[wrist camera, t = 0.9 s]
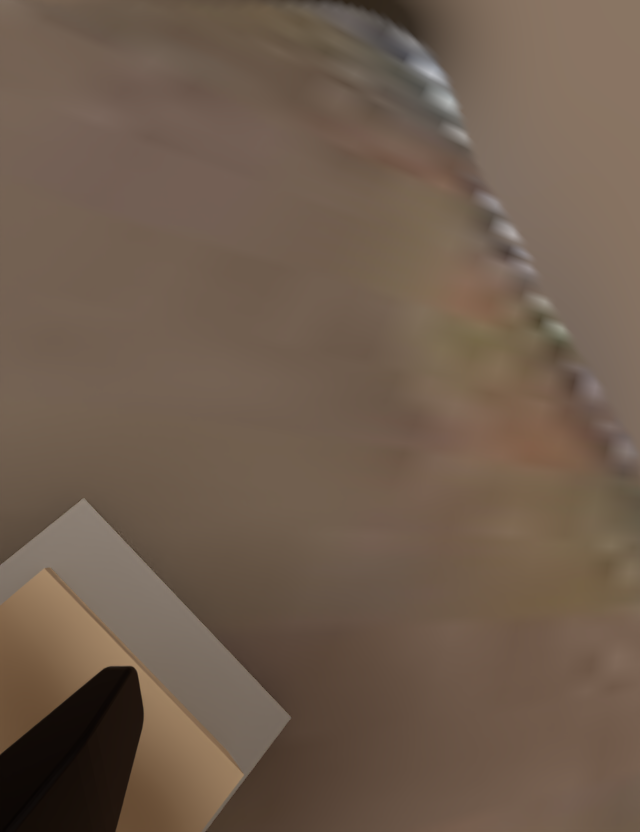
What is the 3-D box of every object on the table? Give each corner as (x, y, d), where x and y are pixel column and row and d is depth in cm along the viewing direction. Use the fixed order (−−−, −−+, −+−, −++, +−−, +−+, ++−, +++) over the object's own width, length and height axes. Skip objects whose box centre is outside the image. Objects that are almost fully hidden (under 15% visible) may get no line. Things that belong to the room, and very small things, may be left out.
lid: (61, 961, 13) (55, 1023, 12) (-163, 748, 13) (-206, 778, 11) (227, 751, 16) (244, 775, 14) (50, 567, 15) (44, 568, 14)
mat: (21, 1059, 13) (18, 1079, 12) (-272, 787, 12) (-289, 797, 12) (285, 712, 18) (291, 717, 17) (83, 500, 17) (83, 497, 16)
